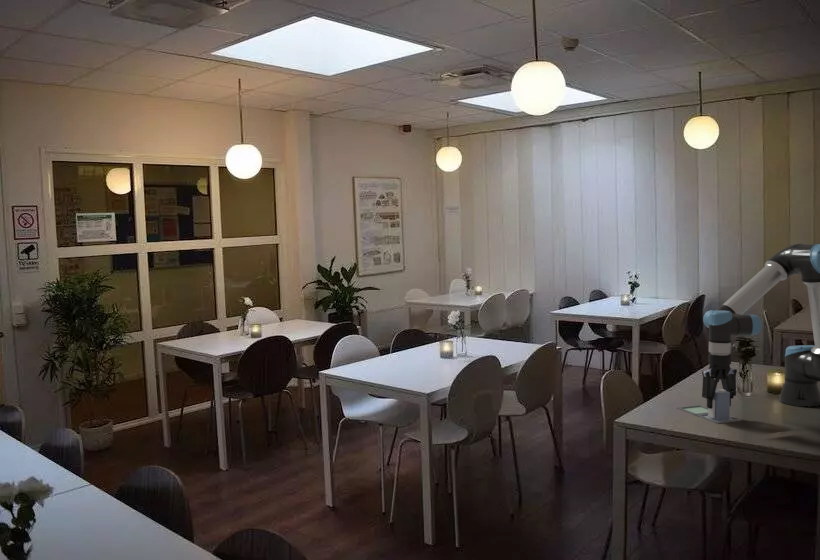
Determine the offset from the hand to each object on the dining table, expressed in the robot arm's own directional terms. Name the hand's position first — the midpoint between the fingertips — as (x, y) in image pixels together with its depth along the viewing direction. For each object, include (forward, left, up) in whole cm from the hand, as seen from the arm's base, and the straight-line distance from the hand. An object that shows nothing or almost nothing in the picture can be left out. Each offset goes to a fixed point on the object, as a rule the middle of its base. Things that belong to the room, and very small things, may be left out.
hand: (718, 416), depth 250 cm
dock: (0, -6, -2) cm, 6 cm away
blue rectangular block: (0, 0, -1) cm, 1 cm away
